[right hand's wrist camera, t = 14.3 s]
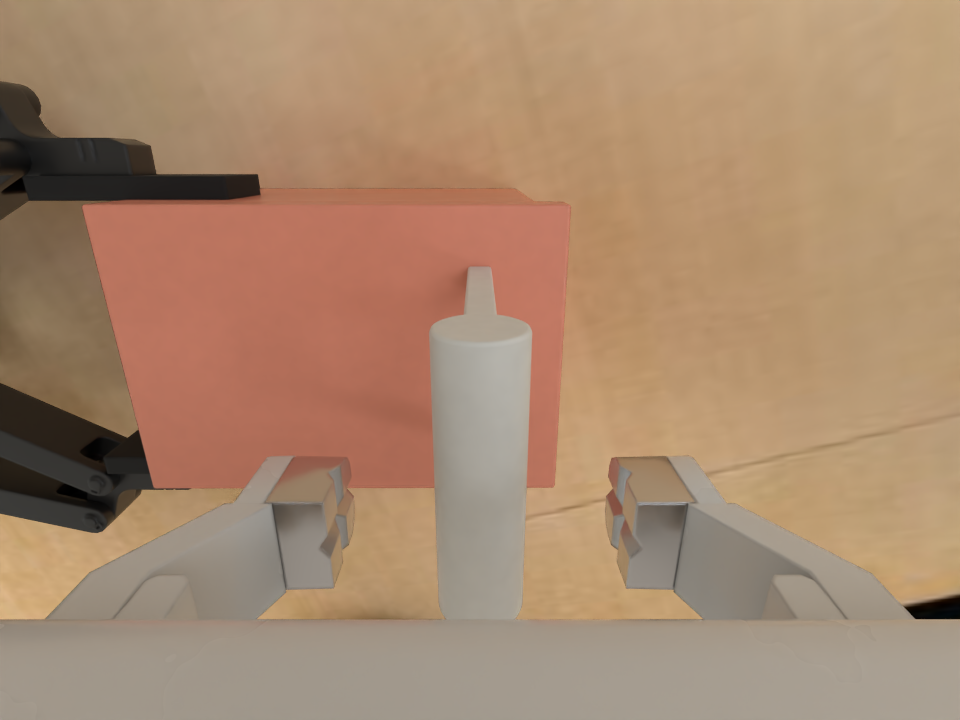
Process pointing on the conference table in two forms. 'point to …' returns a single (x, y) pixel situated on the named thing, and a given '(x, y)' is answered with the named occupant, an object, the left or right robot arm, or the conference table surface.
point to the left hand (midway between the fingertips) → (265, 329)
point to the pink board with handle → (352, 355)
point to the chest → (374, 196)
